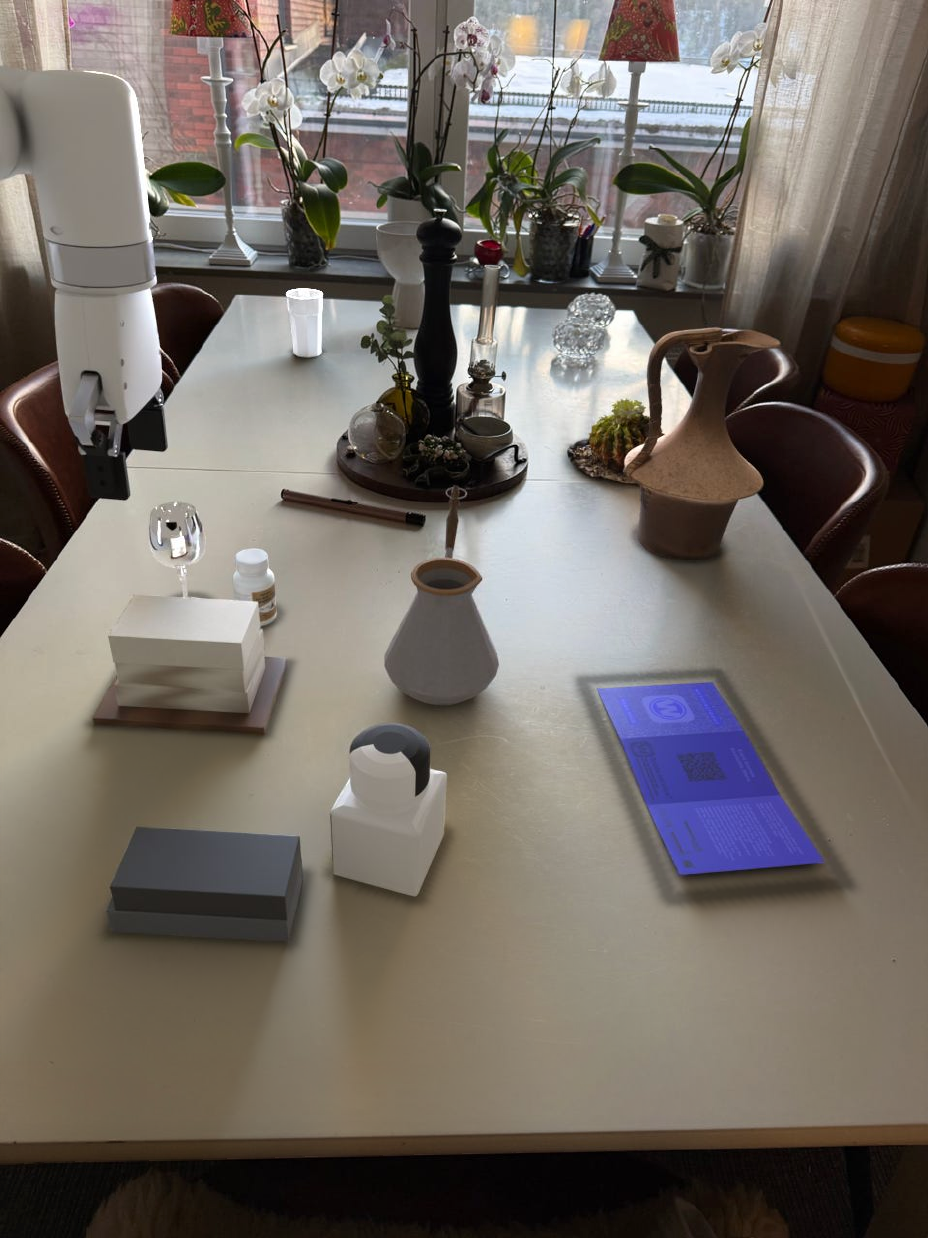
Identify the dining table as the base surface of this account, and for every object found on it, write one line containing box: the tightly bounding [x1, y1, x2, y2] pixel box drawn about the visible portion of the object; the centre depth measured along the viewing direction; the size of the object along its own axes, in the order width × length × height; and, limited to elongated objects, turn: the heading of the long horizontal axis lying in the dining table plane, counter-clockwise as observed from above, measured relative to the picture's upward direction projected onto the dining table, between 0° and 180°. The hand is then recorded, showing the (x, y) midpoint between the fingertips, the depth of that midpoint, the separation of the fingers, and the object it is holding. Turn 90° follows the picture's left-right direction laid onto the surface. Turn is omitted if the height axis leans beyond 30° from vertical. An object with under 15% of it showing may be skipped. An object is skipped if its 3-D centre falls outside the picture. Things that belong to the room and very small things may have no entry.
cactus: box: [566, 397, 666, 484], centre depth 140 cm, size 17×16×10 cm
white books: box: [92, 628, 288, 735], centre depth 90 cm, size 16×11×6 cm
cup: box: [285, 288, 324, 358], centre depth 175 cm, size 7×7×11 cm
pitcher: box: [623, 327, 781, 562], centre depth 115 cm, size 18×17×28 cm
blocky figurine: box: [329, 722, 448, 897], centre depth 73 cm, size 7×7×12 cm
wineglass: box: [148, 501, 207, 598], centre depth 101 cm, size 6×6×12 cm
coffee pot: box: [383, 484, 500, 706], centre depth 95 cm, size 21×12×15 cm, turn 177°
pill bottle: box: [232, 548, 278, 627], centre depth 101 cm, size 4×4×8 cm
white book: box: [107, 594, 261, 670], centre depth 88 cm, size 12×7×3 cm, turn 88°
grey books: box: [106, 826, 304, 943], centre depth 70 cm, size 13×6×5 cm, turn 88°
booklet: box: [596, 681, 825, 876], centre depth 86 cm, size 12×25×1 cm, turn 8°
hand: (130, 472), depth 79 cm, fingers open, 9 cm apart
